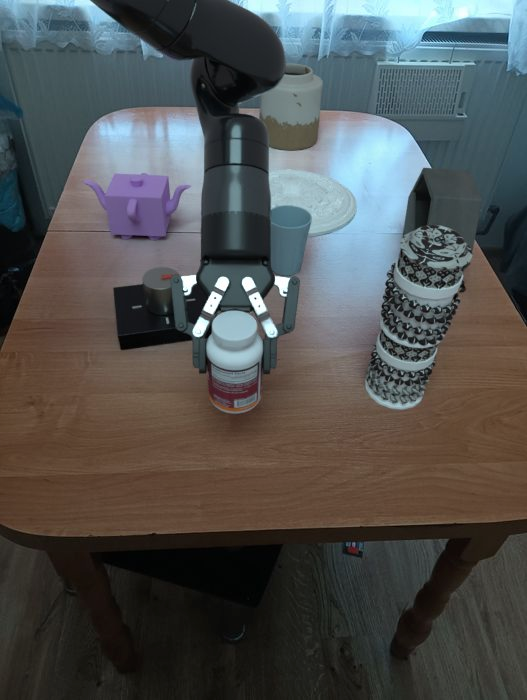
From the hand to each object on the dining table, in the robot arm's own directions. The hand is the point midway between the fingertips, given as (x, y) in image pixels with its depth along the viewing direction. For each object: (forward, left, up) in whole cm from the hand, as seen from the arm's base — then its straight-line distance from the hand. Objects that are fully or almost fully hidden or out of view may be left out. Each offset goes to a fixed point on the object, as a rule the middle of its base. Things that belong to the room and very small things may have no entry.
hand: (235, 373), depth 58 cm
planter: (+43, +33, -15) cm, 56 cm away
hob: (-5, +29, -15) cm, 33 cm away
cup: (+18, +39, -15) cm, 45 cm away
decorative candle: (+25, +7, -15) cm, 30 cm away
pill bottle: (0, +2, -6) cm, 6 cm away
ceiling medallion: (+26, +62, -15) cm, 68 cm away
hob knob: (-5, +29, -12) cm, 31 cm away
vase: (+35, +95, -15) cm, 102 cm away
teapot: (-6, +57, -15) cm, 59 cm away
